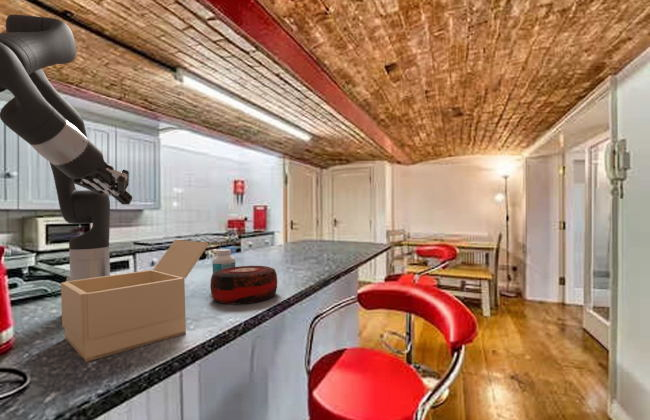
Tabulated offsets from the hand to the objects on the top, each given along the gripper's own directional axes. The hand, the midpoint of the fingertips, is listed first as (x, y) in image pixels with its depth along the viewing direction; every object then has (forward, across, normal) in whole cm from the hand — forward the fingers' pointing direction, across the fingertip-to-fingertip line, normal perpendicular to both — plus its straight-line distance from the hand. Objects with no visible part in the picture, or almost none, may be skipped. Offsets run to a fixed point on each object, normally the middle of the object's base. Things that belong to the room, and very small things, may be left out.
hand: (128, 201), depth 78 cm
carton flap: (+12, -8, +8) cm, 17 cm away
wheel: (+42, -13, +7) cm, 45 cm away
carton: (+13, -3, +26) cm, 29 cm away
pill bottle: (+49, -2, +3) cm, 49 cm away
